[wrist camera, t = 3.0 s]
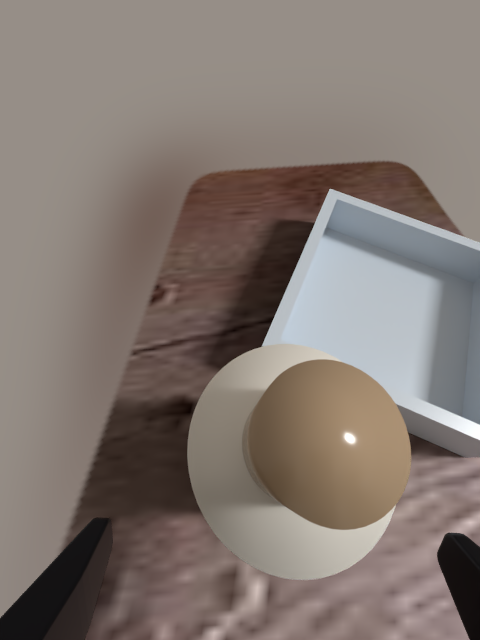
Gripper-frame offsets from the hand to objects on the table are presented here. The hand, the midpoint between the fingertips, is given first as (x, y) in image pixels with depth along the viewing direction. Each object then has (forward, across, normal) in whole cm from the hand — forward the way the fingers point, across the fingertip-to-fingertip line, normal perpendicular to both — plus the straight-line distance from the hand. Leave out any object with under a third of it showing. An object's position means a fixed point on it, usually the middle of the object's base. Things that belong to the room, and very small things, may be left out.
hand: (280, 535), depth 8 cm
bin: (+15, -9, -2) cm, 18 cm away
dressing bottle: (+8, 0, +5) cm, 10 cm away
